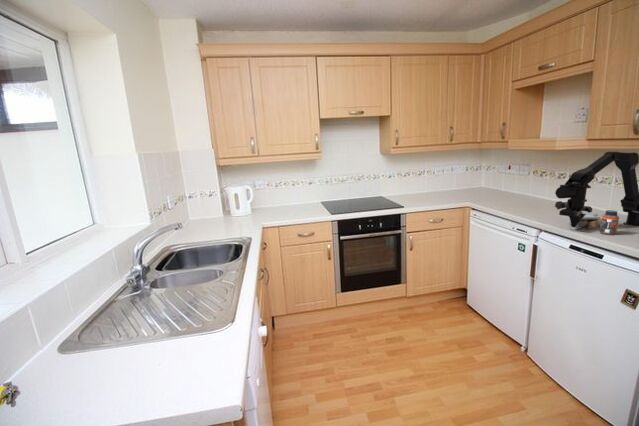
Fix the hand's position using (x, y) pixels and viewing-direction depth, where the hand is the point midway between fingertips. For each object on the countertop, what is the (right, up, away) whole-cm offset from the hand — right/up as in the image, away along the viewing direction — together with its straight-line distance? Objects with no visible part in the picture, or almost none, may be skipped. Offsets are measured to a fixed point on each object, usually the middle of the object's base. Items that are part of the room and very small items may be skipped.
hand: (573, 227), depth 154 cm
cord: (+8, 0, +4) cm, 9 cm away
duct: (+14, +1, +7) cm, 16 cm away
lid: (+13, +5, +9) cm, 17 cm away
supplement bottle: (+10, -3, -8) cm, 13 cm away
